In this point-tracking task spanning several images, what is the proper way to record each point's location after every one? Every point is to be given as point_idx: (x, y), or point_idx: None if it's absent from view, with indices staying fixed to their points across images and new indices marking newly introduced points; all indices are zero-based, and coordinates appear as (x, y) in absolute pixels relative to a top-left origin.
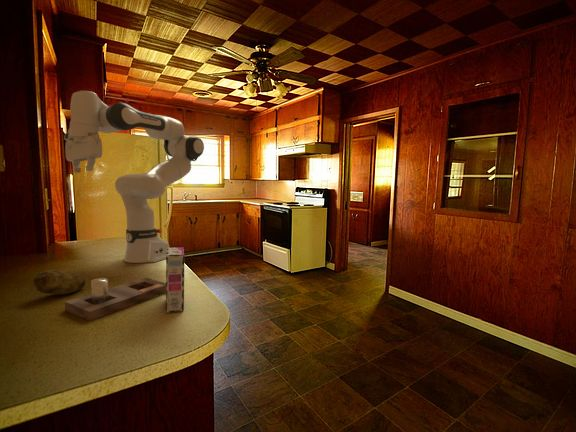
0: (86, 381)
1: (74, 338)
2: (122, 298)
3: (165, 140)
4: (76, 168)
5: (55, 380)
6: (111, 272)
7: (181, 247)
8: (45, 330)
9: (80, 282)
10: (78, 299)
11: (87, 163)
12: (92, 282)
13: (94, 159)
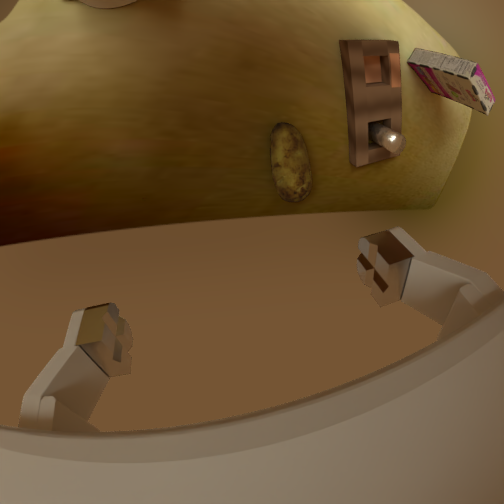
0: (446, 178)
1: (408, 170)
2: (397, 114)
3: None
4: (128, 360)
5: (434, 189)
6: (203, 51)
7: (478, 67)
8: (378, 184)
9: (300, 134)
10: (362, 153)
11: (421, 311)
12: (398, 153)
13: (495, 295)
